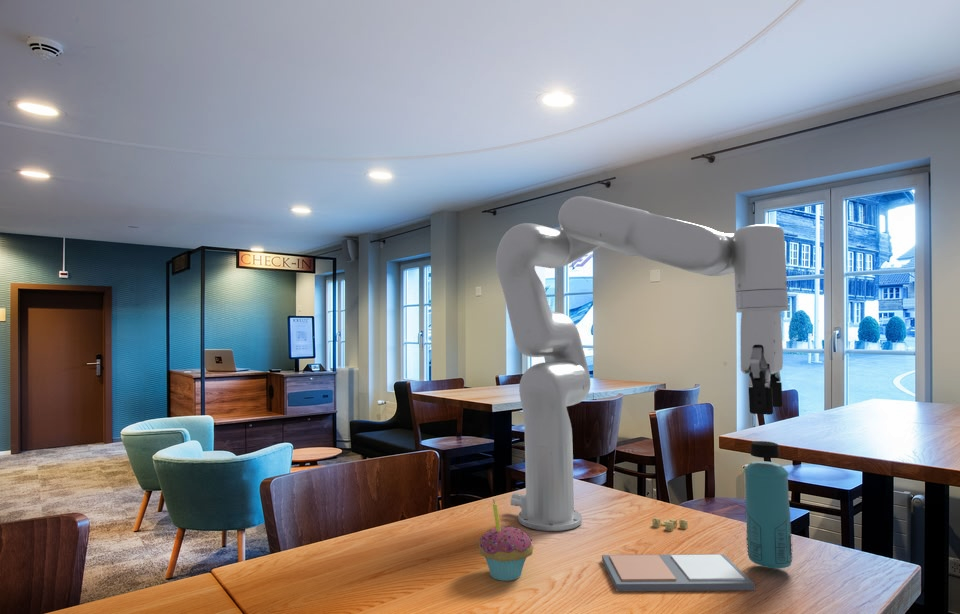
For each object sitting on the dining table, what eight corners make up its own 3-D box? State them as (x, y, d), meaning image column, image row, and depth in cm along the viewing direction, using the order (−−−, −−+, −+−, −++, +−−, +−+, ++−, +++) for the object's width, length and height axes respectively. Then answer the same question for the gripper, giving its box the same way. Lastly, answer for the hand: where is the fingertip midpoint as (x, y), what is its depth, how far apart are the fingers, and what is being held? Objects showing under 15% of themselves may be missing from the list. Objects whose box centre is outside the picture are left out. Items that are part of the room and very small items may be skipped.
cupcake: (494, 590, 85) (493, 508, 86) (469, 569, 93) (468, 494, 93) (543, 578, 89) (542, 500, 90) (515, 559, 97) (514, 487, 97)
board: (616, 591, 85) (616, 582, 85) (602, 561, 96) (602, 553, 96) (754, 590, 84) (754, 581, 84) (724, 560, 95) (723, 552, 95)
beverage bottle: (799, 580, 87) (794, 446, 88) (752, 577, 89) (748, 445, 90) (785, 563, 94) (781, 438, 95) (741, 560, 95) (738, 437, 96)
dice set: (689, 531, 111) (689, 521, 111) (671, 536, 108) (670, 526, 108) (668, 523, 115) (668, 514, 115) (650, 528, 113) (650, 518, 113)
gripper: (746, 305, 102) (751, 403, 101) (724, 302, 88) (729, 415, 87) (794, 303, 98) (800, 405, 97) (779, 299, 84) (785, 418, 83)
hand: (766, 409), depth 92 cm, fingers open, 9 cm apart
